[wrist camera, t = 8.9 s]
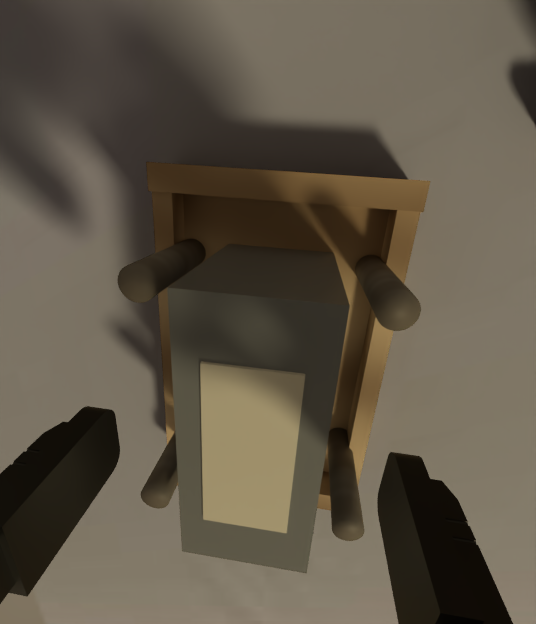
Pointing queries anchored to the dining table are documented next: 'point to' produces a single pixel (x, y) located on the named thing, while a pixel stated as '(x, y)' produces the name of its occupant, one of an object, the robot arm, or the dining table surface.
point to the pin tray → (302, 236)
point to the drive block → (254, 399)
